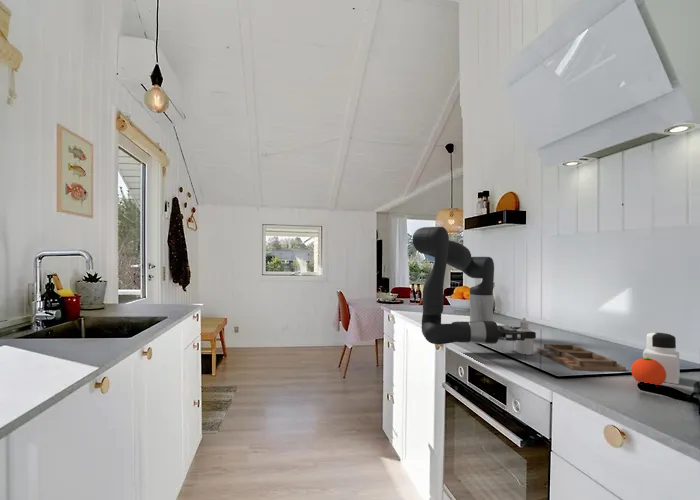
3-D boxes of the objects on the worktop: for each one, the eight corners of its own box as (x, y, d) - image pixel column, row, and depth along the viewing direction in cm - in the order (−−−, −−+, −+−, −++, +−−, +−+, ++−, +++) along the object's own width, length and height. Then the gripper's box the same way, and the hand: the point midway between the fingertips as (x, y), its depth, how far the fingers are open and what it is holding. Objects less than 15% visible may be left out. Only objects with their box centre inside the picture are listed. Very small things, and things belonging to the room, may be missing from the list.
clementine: (628, 379, 99) (628, 352, 99) (662, 383, 95) (661, 355, 96) (633, 387, 92) (633, 358, 92) (669, 392, 89) (669, 362, 89)
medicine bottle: (679, 378, 100) (678, 333, 100) (678, 384, 94) (677, 337, 95) (645, 372, 104) (645, 330, 105) (643, 378, 99) (642, 333, 100)
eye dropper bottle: (527, 351, 129) (526, 316, 129) (535, 355, 123) (534, 319, 124) (514, 351, 129) (514, 316, 129) (522, 355, 123) (521, 319, 124)
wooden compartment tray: (536, 351, 129) (536, 344, 129) (580, 351, 129) (580, 344, 129) (572, 369, 107) (572, 361, 107) (625, 370, 107) (625, 361, 107)
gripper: (488, 324, 120) (539, 325, 119) (475, 317, 134) (520, 318, 134) (488, 348, 120) (539, 348, 119) (475, 338, 134) (520, 339, 133)
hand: (529, 332), depth 126 cm, fingers open, 8 cm apart
